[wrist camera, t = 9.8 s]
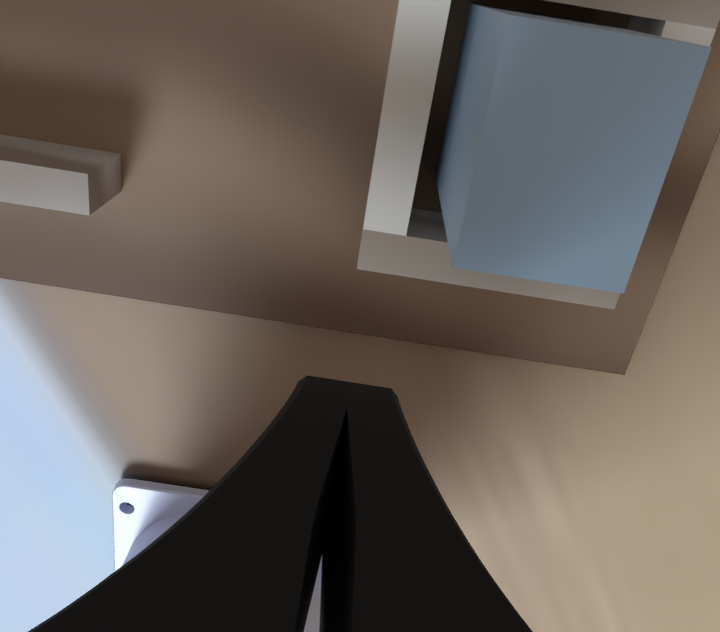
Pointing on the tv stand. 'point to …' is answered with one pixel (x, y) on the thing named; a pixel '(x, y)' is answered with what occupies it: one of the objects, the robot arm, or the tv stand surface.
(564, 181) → the plug
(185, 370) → the tv stand surface
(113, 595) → the robot arm
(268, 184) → the brown tray
